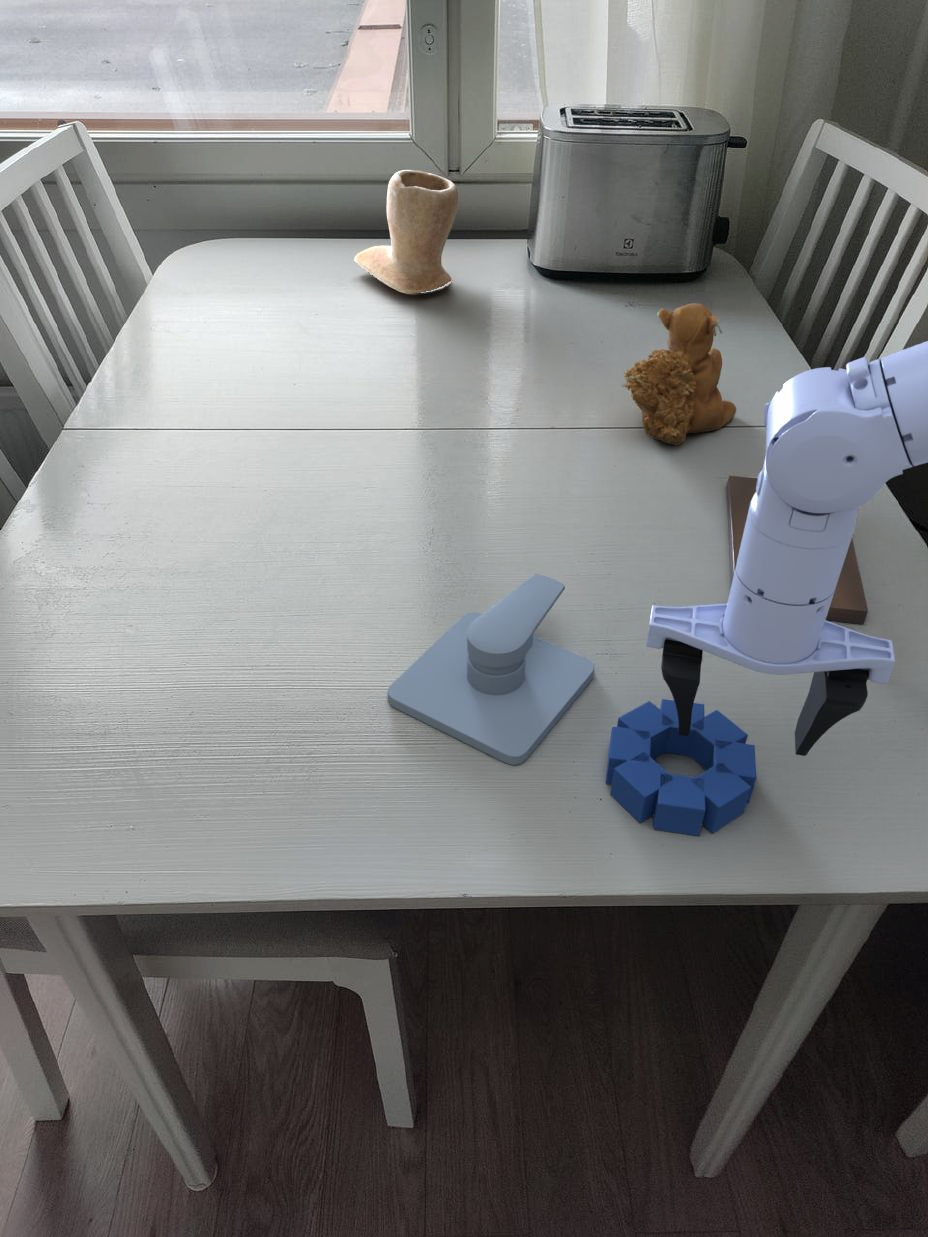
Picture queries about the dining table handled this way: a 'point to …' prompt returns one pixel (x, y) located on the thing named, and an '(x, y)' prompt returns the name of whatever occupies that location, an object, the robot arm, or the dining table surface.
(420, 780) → the dining table surface
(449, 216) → the stone cup
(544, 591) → the shower valve
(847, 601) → the peg rack
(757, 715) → the dining table surface
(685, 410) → the stuffed squirrel
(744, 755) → the ring
